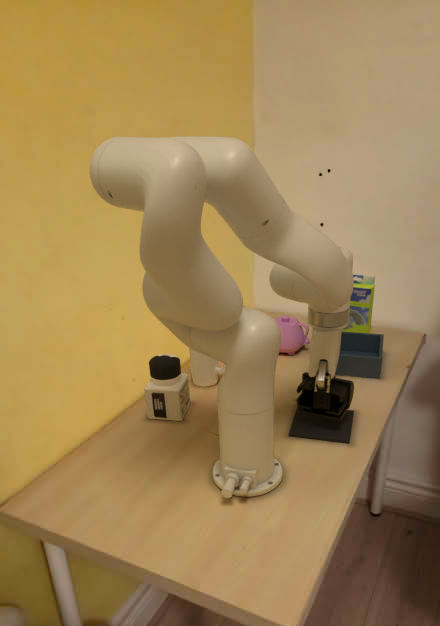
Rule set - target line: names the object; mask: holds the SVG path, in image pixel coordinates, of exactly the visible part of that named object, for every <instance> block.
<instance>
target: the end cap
mask: <svg viewBox="0 0 440 626" xmlns="http://www.w3.org/2000/svg"><path fill="white" fill-rule="evenodd" d="M301 375H302V376H301V382H300V383H299V384H298V386H297V387H296V394H297V395H299V396H298V397H297V398H296V400H295V401H296V405H297V406H298V409H297V408H296V409H297V411H298V412H301V413H305V414H310V415H314V416H319V417H323V418H327V419H332V420H336V421H340V420H341V419H342V417H343V416H344V414H345V413H346V411H347V410H350V407H351V405H352V402H353V397H354V391H355V383H354V381H353V380H350V379H344V378H339V377H335V378H332V379H331V382H330V391H331V401H330V409H329V410H326V409H317V408H314V407H313V400H314V389H315V381H316V375H315V377H310V376H309V371H308V372H307V371H305V372H303V373H302V374H301ZM327 380H328V379H325V383H326V384H327ZM297 406H296V407H297Z"/></svg>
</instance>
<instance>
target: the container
mask: <svg viewBox="0 0 440 626" xmlns="http://www.w3.org/2000/svg"><path fill="white" fill-rule="evenodd" d="M148 368H149V376H150V379H149V380H148V382H147V383H146V384H145V386H144V388H143V392H144V400H145V407H146V414H147V419H149V420H158V421H173V422H174V421H175V422H183V419H184V418H185V415H186V413H187V411H188V409H189V407H190V406H191V393H190V382H189V381H190V380H189V374H188V373H184V372H183V373H182V365H181V358H180V357H179V356H177V355H176V354H171V353H161V354H157V355H155V356H153V357H151V358H150V359H149V361H148Z"/></svg>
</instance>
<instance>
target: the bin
mask: <svg viewBox="0 0 440 626" xmlns="http://www.w3.org/2000/svg"><path fill="white" fill-rule="evenodd" d="M384 339H385V335H384V334H383V333H371V332H370V333H356V332H342V333H341V345H340V353H339V359H338V364H337V368H336V374H335V376H344V377H354V378H355V377H357V378H365V379H377V380H379V379H380V380H381V373H382V364H383V352H384Z"/></svg>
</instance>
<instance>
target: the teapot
mask: <svg viewBox="0 0 440 626" xmlns="http://www.w3.org/2000/svg"><path fill="white" fill-rule="evenodd" d="M273 319H274V320H275V321H276V323H277V324H278V326H279V328H280V331H281V346H280V351H279V353H287V355H289V356H294V355H296V353H295V352H297V351H299V350H300V349H301V348H302V347H303V346H304V345H309V344H311V338H309V337H308V335H309V332H310V326H309V325H308V324H306V323H304V322H300V321H299V320H298V319H297V318H296V317H292V316H290V315H285V314H284V315H282V316H278V317H275V318H273ZM304 328H305V332H304V330H303V329H304Z"/></svg>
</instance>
